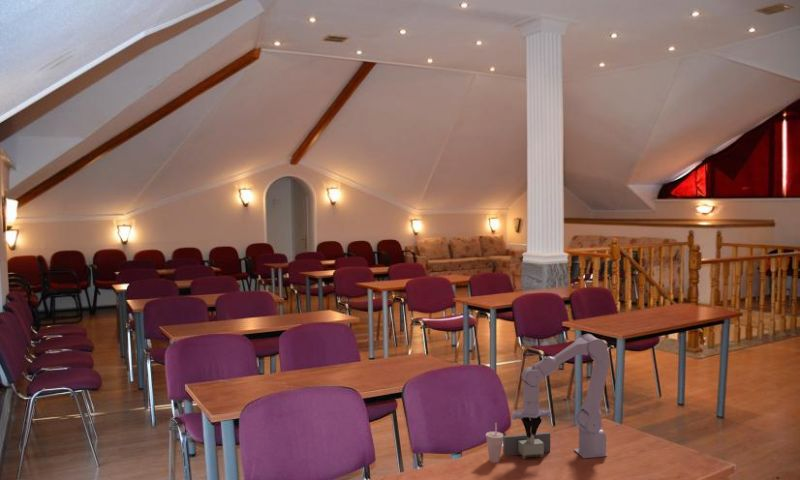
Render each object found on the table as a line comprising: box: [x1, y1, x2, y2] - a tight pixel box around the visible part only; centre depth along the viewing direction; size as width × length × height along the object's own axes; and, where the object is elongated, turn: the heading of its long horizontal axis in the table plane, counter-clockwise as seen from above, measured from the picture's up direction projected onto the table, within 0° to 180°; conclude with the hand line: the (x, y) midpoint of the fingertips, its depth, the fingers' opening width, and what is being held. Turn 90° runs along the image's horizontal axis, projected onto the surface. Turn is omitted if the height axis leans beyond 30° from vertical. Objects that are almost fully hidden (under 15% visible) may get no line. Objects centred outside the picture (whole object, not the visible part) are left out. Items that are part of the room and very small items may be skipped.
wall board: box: [502, 431, 551, 459], centre depth 253 cm, size 18×4×7 cm, turn 102°
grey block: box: [518, 433, 545, 459], centre depth 250 cm, size 8×5×8 cm, turn 102°
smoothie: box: [485, 422, 504, 464], centre depth 247 cm, size 6×6×14 cm
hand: (530, 436), depth 250 cm, fingers closed on grey block
